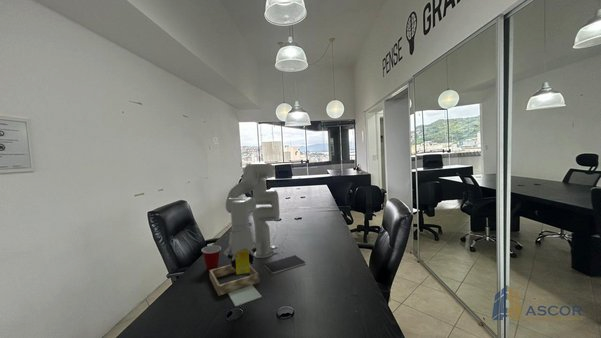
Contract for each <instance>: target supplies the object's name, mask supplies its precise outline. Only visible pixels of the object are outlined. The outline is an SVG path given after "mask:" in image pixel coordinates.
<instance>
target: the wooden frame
mask: <svg viewBox="0 0 601 338" xmlns="http://www.w3.org/2000/svg"><path fill="white" fill-rule="evenodd" d="M249 266H250V274H249V275H246V276H243V277H241V278H237V279H235V280H231V281H228V282H225V283H221V284H220V283H219V281H218V279H217V278H220V277H224V276H227V275H230V274H233V273H236V269H234V268H233V267H232V266H231V264H228V265H224V266H221V267H217V268H216V269H213V270H208V271H209V280H210V281H211V284H212V285H213V287H214V289H215V292H216V293H217V295H218V296H219V297H221V296H222V295H226V294H228V293H230V292H233V291H236V290H239V289H242V288H245V287H248V286H251V285H253V286H254V285H257V284H259V283H260V275H259V272H258V271H256V270H255V268H254V267H253V266H252V265H251V263H249Z"/></svg>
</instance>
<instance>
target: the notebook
mask: <svg viewBox="0 0 601 338" xmlns="http://www.w3.org/2000/svg"><path fill="white" fill-rule="evenodd" d="M305 264H306V261H305V260H303V259H302V258H300V257H298V256H297V255H295V254H294V255H290V256H289V257H284V258H280V259H278V260H273V261H270V262H267V263H264V264H263V266H264V267H265V268H266V269H267V270H268V271H269V272H270V273H271V274H277V273H280V272H284V271H288V270H290V269H294V268H296V267H300V266H303V265H305Z"/></svg>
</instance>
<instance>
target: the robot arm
mask: <svg viewBox="0 0 601 338" xmlns="http://www.w3.org/2000/svg"><path fill="white" fill-rule="evenodd" d="M274 174H275V169H274V166H273V165H272V164H271V163H269V162H251V163H247V164H246V165H245V167H244V171H243V174H242V177H241V181H240V182H238V183H237V184H235V185H234V186H233V187H231V189H230V190H229V191H228V195H227V198H226V200H225V210H226V211H227V212H228V213H229V214H230V217H231V218H230V219H231V230H230V232H229V240H228V241H229V242H228V243H229V246H228V247H227V248H226V249H225V250H224V251H223V254H224V256H226V257H227V258H228V259H229V260H230V265H231V266H232V267H233V268H234V269H236V259H235V254H236V253H237V252H240V251H243V250H248V251H249V264H250V265H253V264H254V258H256V259H266V258H269V257H271V256H273V254H274V251H275V250H278V245H276V246H275V245H272V246H271V232H270V225H269V224H268V223H267V222H277V221H278V220H280V217H281V216H280V198H279V193H278V191H277V190H276V189H267V182H266V180H265V179H271V178H273V176H274ZM250 192H252V197H251V196H243V195H245V194H248V193H250ZM266 205H267V206H266ZM269 205H270V206H269ZM250 213H251V216H252V219H253V223H252V222H249V214H250ZM253 224H254V225H253ZM251 226H254V238H255V239H253V235H252V234H253V233H252V230H251V228H250V227H251ZM229 252H231V254H230V253H229Z"/></svg>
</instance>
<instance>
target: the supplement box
mask: <svg viewBox="0 0 601 338" xmlns="http://www.w3.org/2000/svg"><path fill="white" fill-rule="evenodd" d="M235 260H236V272H235V274H236V277H239V276H248V275H250V266H251V265H250V266H249V264H250V263H249V251H248V250H243V251H240V252H237V253H236V254H235Z"/></svg>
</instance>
